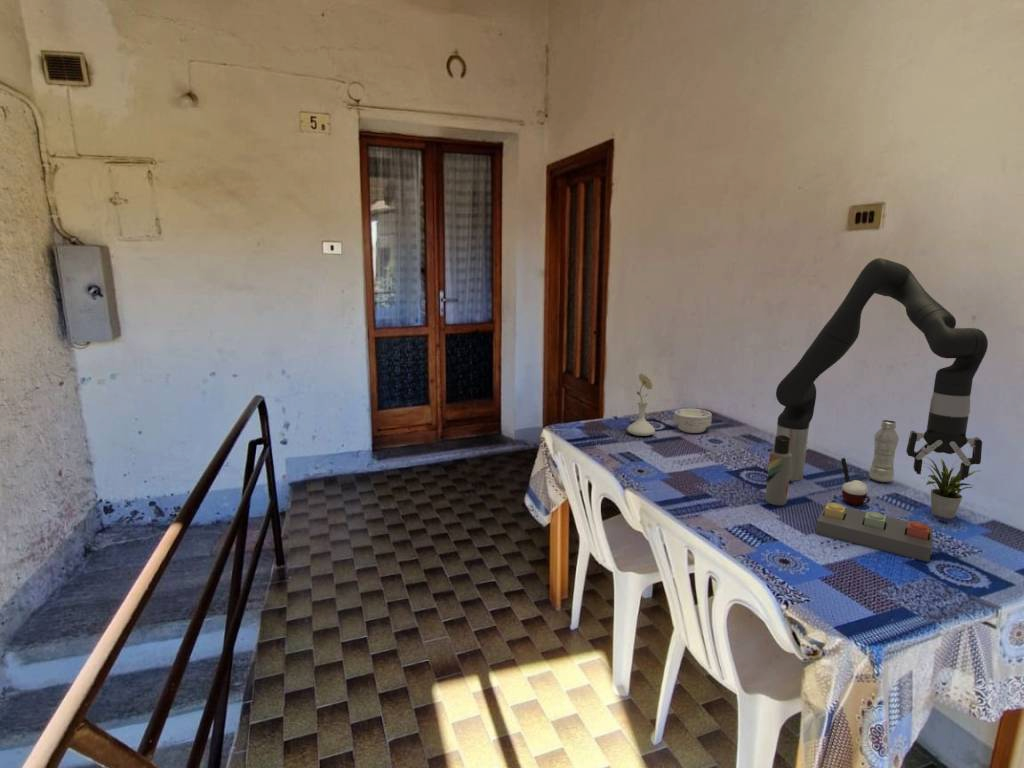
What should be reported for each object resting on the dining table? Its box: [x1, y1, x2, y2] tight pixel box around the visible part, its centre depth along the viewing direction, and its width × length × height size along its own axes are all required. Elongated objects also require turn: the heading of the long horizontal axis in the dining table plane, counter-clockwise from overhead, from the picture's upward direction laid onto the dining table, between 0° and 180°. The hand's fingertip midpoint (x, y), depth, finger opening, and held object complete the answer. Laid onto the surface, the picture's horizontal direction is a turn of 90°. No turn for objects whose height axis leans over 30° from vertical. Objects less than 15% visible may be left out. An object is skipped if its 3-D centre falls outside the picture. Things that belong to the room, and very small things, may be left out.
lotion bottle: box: [765, 435, 792, 507], centre depth 164 cm, size 6×6×20 cm
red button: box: [907, 520, 930, 540], centre depth 139 cm, size 4×4×4 cm
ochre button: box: [824, 502, 847, 520], centre depth 150 cm, size 4×4×4 cm
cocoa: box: [840, 457, 871, 506], centre depth 166 cm, size 10×6×12 cm, turn 2°
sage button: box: [864, 511, 887, 530], centre depth 145 cm, size 4×4×4 cm
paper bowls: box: [673, 408, 713, 434], centre depth 238 cm, size 15×15×8 cm
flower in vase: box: [626, 372, 656, 437], centre depth 231 cm, size 13×11×25 cm
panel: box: [815, 502, 934, 563], centre depth 145 cm, size 24×14×4 cm, turn 53°
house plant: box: [920, 455, 980, 519], centre depth 158 cm, size 14×14×16 cm
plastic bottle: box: [868, 419, 900, 483], centre depth 181 cm, size 6×7×20 cm
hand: (939, 476), depth 138 cm, fingers open, 8 cm apart
